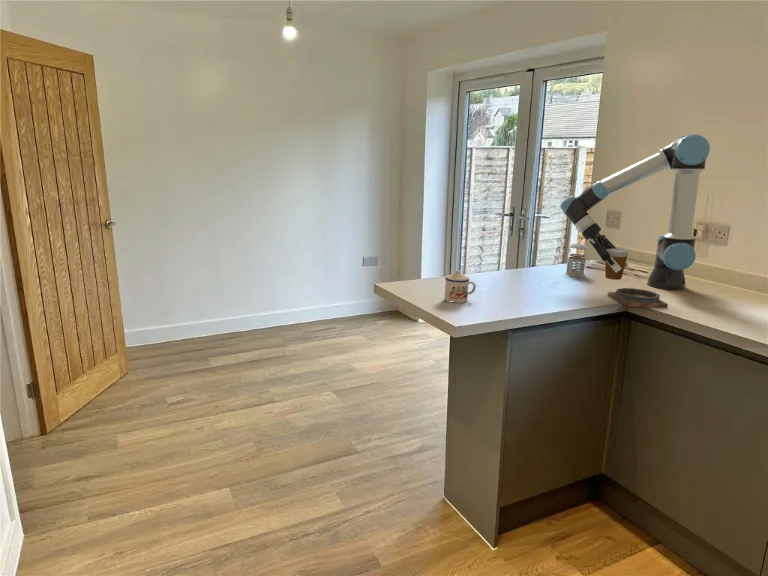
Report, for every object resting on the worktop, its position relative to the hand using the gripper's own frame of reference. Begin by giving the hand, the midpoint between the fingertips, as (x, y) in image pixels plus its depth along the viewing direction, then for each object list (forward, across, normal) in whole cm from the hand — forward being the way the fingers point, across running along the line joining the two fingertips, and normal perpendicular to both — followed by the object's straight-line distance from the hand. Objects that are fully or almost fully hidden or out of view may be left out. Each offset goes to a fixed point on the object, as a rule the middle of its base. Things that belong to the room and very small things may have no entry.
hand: (622, 269), depth 224 cm
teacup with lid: (-22, +63, -35) cm, 75 cm away
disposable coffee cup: (+1, 0, -6) cm, 6 cm away
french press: (-12, -19, -26) cm, 34 cm away
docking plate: (+14, +12, 0) cm, 19 cm away
